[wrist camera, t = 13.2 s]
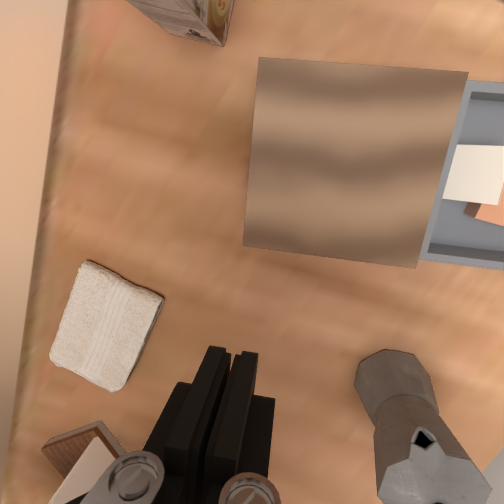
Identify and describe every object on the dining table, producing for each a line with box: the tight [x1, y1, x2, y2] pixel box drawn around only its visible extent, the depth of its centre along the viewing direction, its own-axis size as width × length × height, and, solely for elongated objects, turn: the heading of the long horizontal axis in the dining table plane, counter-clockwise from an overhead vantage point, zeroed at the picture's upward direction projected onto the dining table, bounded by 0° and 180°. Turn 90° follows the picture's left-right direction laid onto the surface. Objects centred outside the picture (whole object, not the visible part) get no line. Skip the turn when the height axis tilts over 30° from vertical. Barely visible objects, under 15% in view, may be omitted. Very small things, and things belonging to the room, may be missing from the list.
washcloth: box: [49, 260, 164, 393], centre depth 46 cm, size 12×18×3 cm, turn 155°
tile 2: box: [442, 144, 504, 205], centre depth 31 cm, size 5×5×2 cm
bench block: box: [243, 57, 469, 269], centre depth 32 cm, size 16×16×8 cm
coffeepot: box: [354, 350, 492, 504], centre depth 35 cm, size 15×9×18 cm, turn 16°
